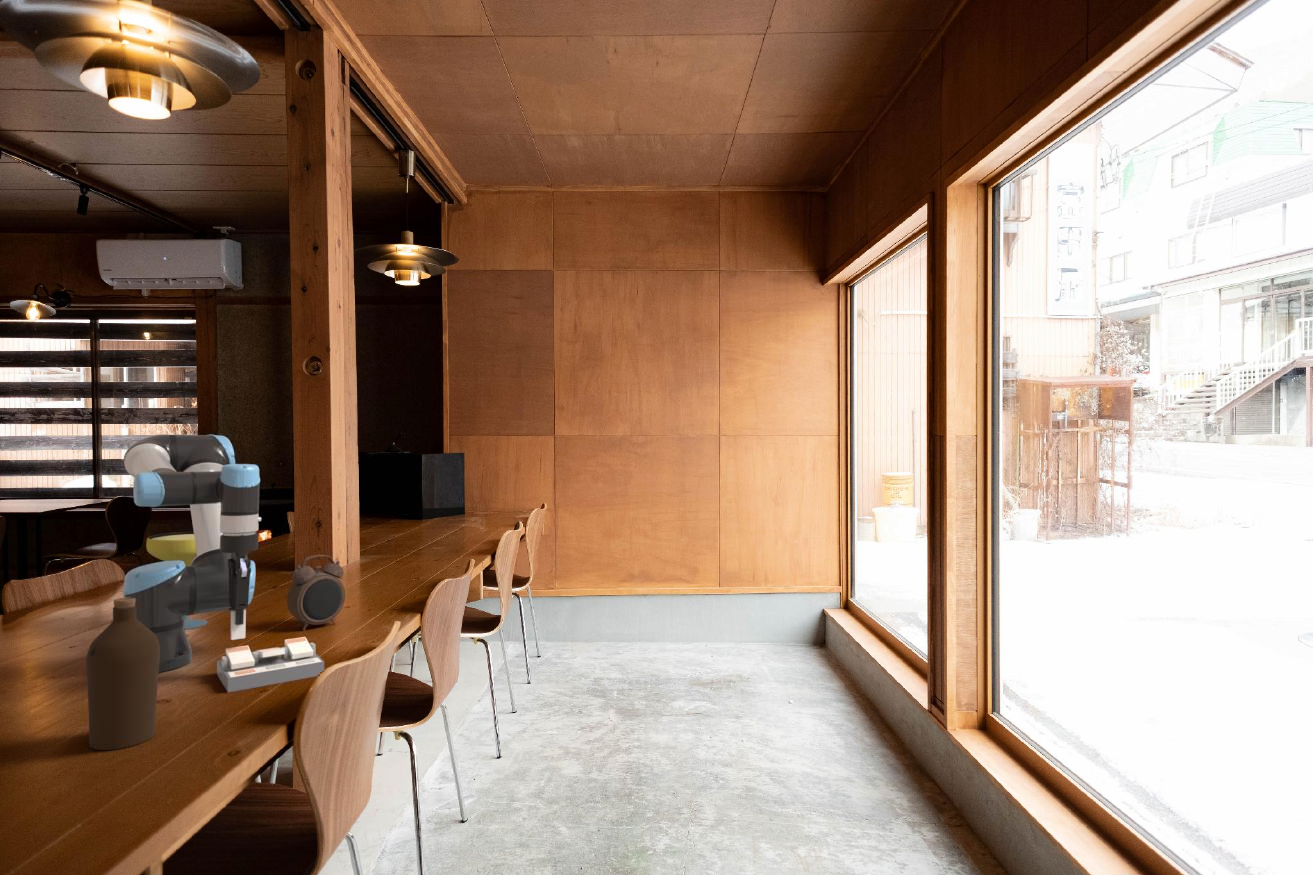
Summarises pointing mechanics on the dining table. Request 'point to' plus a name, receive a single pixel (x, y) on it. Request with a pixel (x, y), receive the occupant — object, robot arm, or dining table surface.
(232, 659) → the left switch
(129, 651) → the olive oil
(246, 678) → the switch unit
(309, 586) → the alarm clock
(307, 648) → the right switch
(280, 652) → the middle switch
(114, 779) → the dining table surface
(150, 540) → the cocktail glass
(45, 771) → the dining table surface
